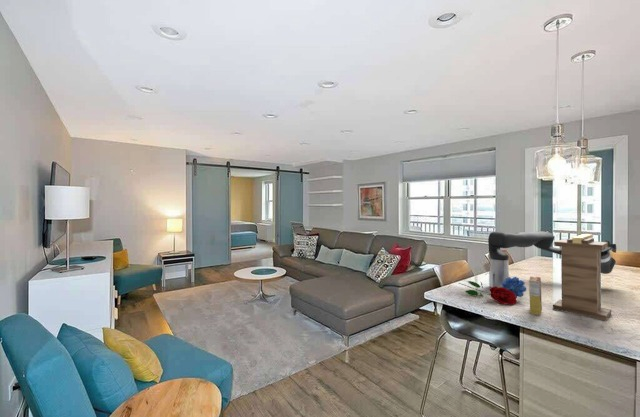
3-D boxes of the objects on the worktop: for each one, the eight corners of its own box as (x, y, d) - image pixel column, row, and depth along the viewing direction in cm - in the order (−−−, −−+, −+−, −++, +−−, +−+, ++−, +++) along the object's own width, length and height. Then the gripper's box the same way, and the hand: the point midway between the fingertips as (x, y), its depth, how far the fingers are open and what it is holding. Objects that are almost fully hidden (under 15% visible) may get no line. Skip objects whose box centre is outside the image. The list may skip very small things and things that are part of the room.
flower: (456, 272, 162) (516, 288, 138) (463, 277, 168) (522, 294, 143) (451, 287, 161) (510, 306, 136) (458, 292, 166) (517, 311, 141)
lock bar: (581, 243, 125) (581, 238, 125) (572, 243, 128) (572, 237, 128) (592, 239, 140) (592, 234, 140) (584, 238, 142) (584, 233, 142)
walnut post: (605, 321, 119) (605, 241, 119) (552, 309, 134) (551, 238, 134) (611, 313, 128) (610, 239, 128) (560, 302, 142) (559, 236, 142)
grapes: (529, 300, 147) (529, 277, 147) (524, 303, 143) (524, 279, 143) (504, 294, 156) (503, 273, 156) (499, 297, 152) (498, 274, 152)
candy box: (530, 307, 136) (530, 275, 136) (541, 309, 134) (541, 277, 134) (529, 313, 130) (528, 279, 130) (540, 315, 127) (540, 281, 127)
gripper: (584, 246, 166) (578, 233, 158) (619, 248, 155) (614, 235, 146) (582, 257, 164) (576, 246, 155) (618, 261, 152) (613, 249, 144)
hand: (595, 241), depth 151 cm, fingers open, 8 cm apart
